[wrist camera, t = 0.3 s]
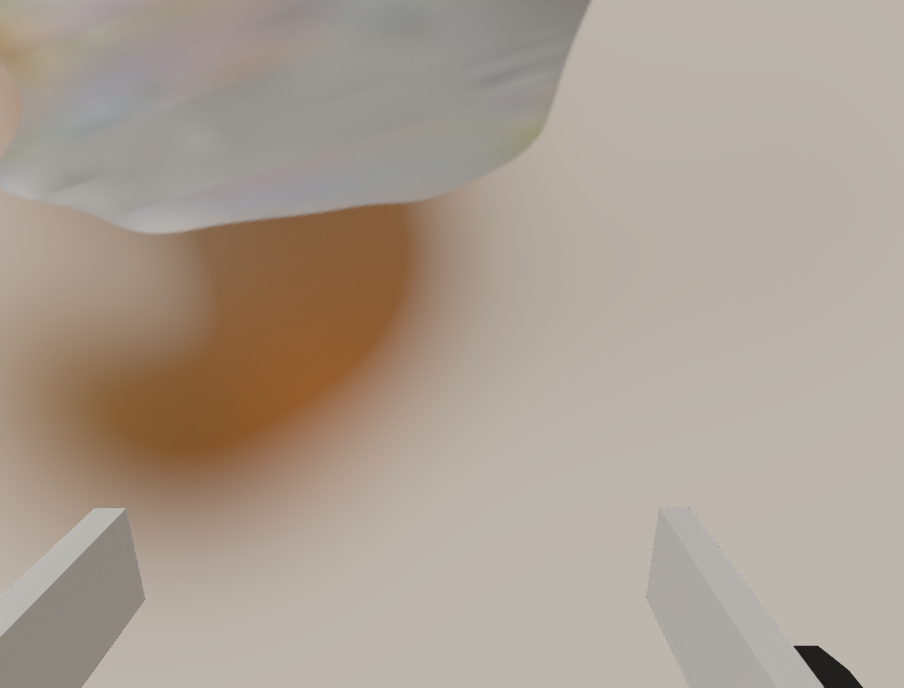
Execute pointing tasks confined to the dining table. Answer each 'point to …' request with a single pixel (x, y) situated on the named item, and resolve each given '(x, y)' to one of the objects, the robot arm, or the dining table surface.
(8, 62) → the dining table surface
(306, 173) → the dining table surface
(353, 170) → the dining table surface
